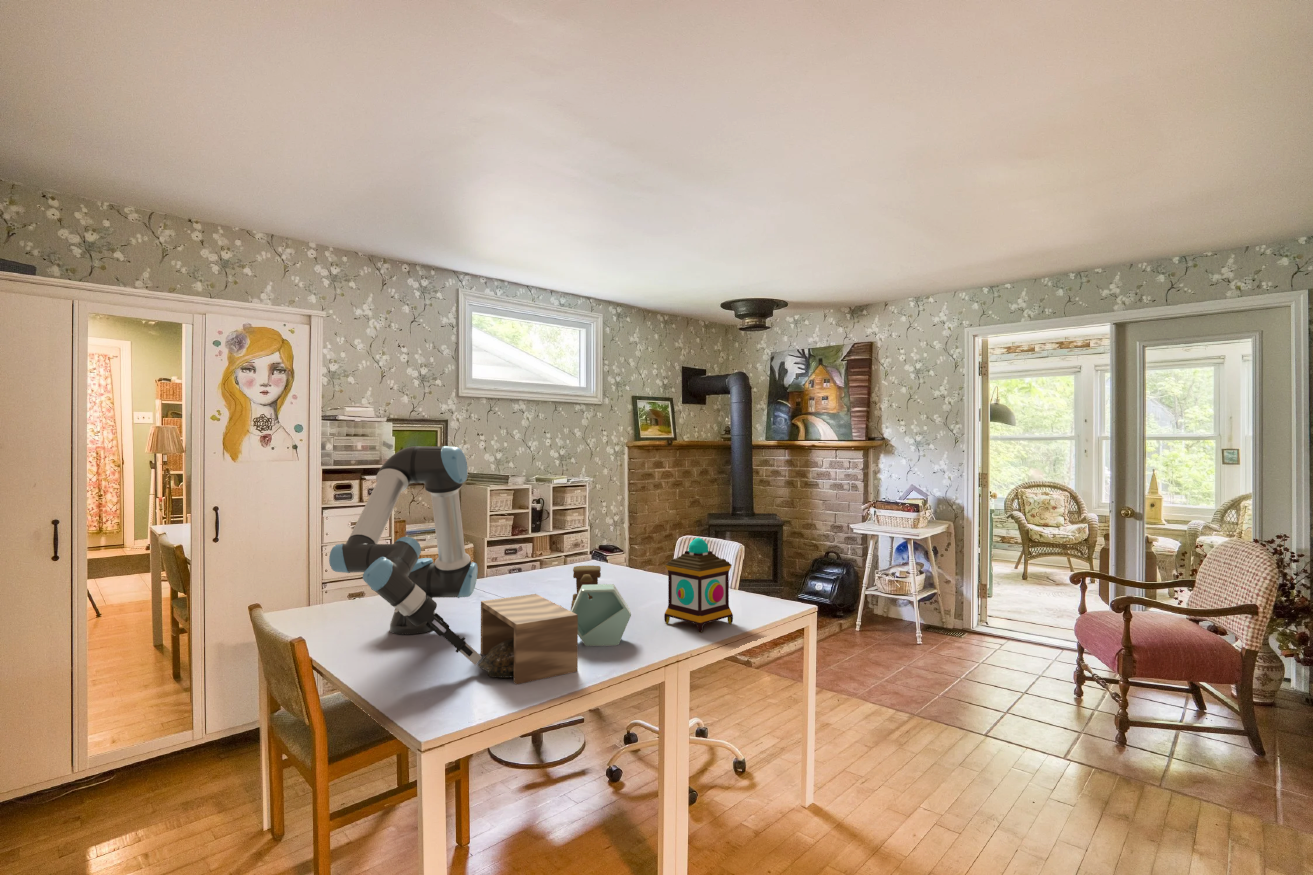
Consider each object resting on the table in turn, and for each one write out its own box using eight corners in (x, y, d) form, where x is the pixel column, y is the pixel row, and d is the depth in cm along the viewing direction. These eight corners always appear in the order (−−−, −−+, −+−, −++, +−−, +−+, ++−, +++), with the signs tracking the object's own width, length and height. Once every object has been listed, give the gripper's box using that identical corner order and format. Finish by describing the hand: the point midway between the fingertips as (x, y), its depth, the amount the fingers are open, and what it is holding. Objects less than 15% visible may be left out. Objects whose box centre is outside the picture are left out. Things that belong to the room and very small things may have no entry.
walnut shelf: (480, 653, 188) (480, 601, 188) (535, 643, 197) (535, 593, 197) (516, 684, 162) (516, 624, 163) (577, 671, 172) (577, 614, 172)
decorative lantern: (658, 623, 220) (658, 537, 221) (696, 613, 234) (696, 532, 234) (700, 635, 205) (700, 543, 206) (738, 623, 219) (738, 537, 220)
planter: (595, 660, 194) (558, 605, 194) (595, 652, 202) (560, 599, 201) (640, 629, 196) (604, 574, 195) (639, 622, 203) (604, 569, 203)
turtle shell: (467, 660, 164) (493, 625, 184) (470, 692, 166) (496, 653, 185) (527, 660, 162) (547, 625, 182) (530, 692, 164) (549, 653, 184)
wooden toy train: (572, 609, 240) (572, 565, 240) (602, 608, 241) (602, 564, 241) (569, 623, 220) (569, 575, 220) (602, 622, 221) (602, 575, 221)
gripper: (400, 611, 167) (461, 665, 175) (409, 622, 156) (475, 678, 164) (421, 589, 170) (480, 643, 178) (432, 598, 159) (495, 655, 167)
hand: (478, 660), depth 171 cm, fingers closed
